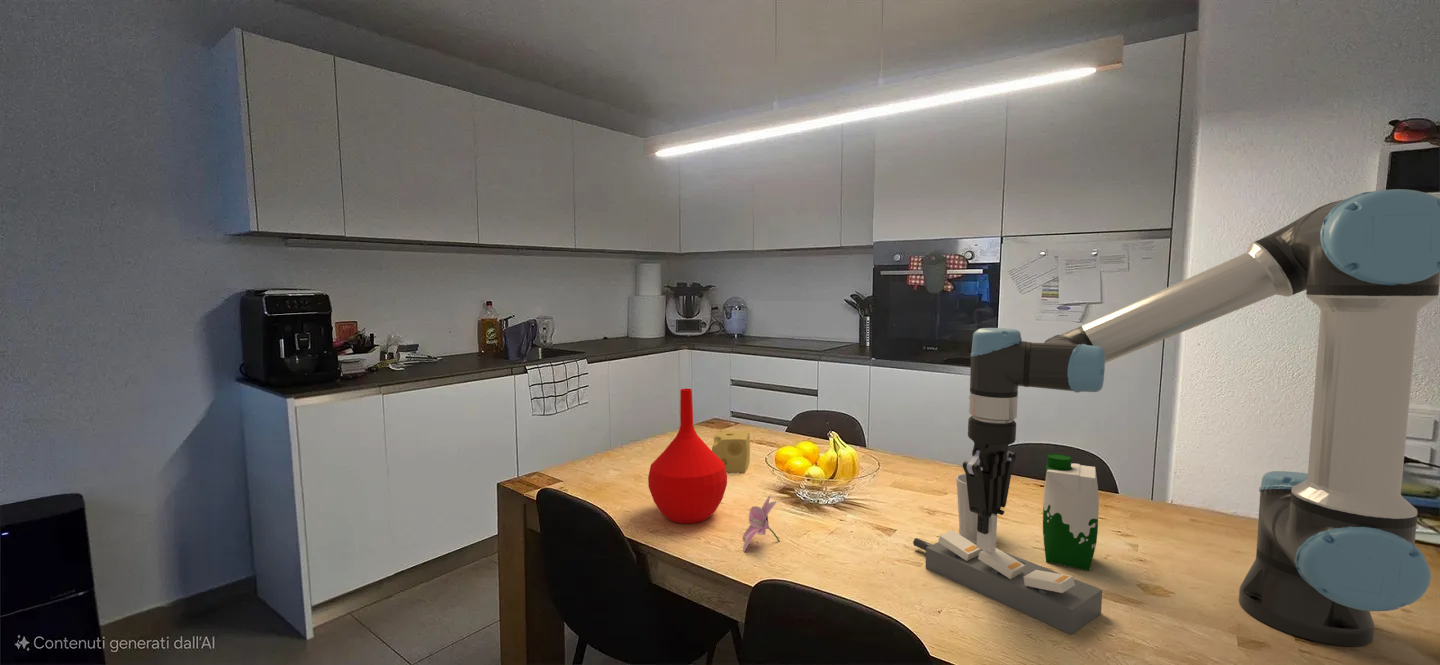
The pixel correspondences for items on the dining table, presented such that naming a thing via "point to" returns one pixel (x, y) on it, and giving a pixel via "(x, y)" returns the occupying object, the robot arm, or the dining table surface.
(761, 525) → the lily
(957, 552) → the rocker
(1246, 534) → the dining table surface
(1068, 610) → the power strip
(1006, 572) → the rocker
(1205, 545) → the dining table surface
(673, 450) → the vase
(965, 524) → the cup
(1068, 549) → the milk carton
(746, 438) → the cheese
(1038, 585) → the rocker
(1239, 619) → the dining table surface
